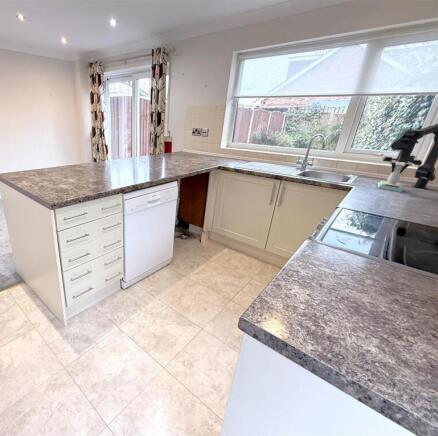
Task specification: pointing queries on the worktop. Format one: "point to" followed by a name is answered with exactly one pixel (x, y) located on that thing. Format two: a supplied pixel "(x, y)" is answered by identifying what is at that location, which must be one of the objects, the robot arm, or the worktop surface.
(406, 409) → the worktop surface
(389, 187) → the scale
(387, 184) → the scale platform
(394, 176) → the salt shaker
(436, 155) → the robot arm
